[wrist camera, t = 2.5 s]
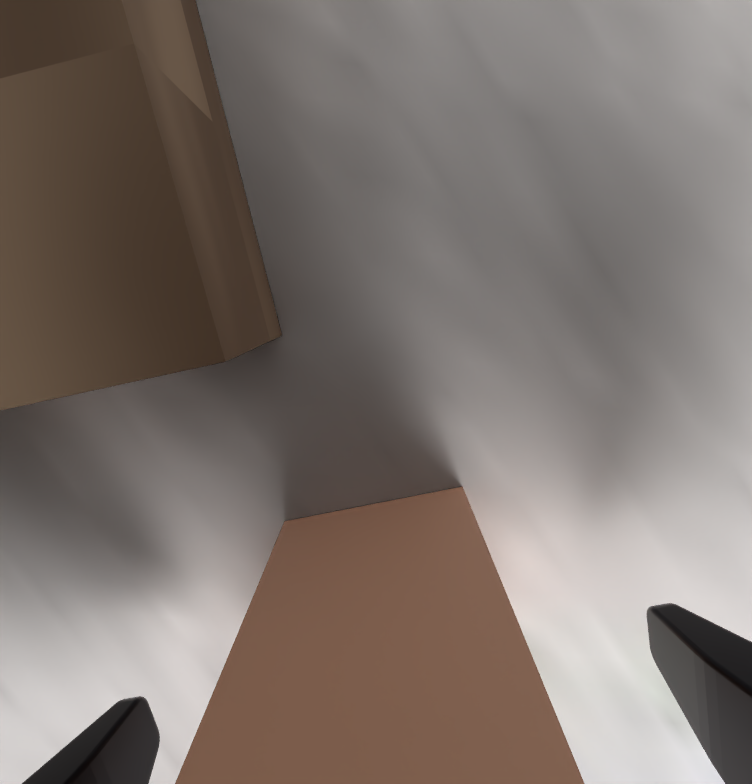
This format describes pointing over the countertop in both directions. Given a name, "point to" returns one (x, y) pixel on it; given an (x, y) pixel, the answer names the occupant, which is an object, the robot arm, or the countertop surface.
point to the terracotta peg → (381, 662)
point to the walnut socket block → (118, 202)
